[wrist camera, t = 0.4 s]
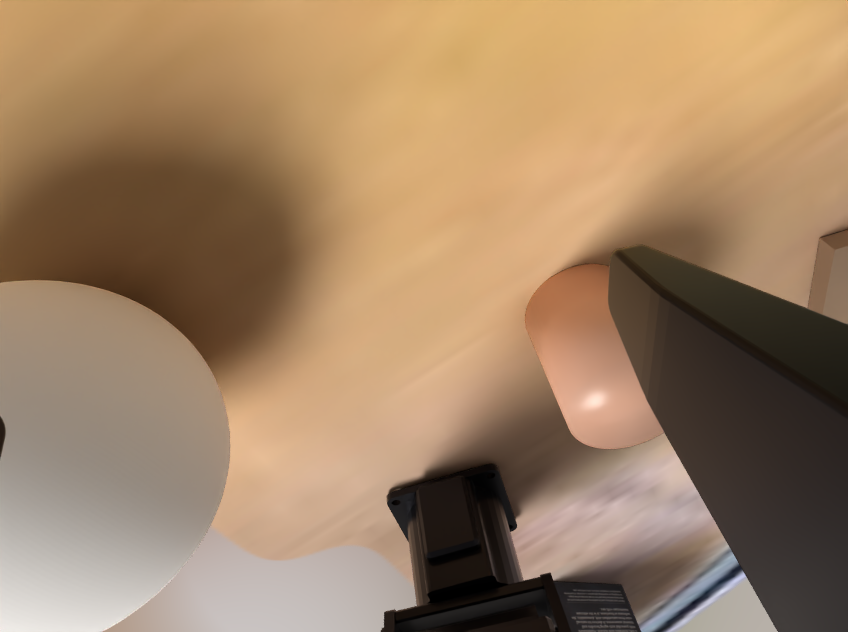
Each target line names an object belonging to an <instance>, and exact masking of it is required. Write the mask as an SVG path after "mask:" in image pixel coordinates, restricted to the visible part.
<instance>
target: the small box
mask: <svg viewBox="0 0 848 632" xmlns="http://www.w3.org/2000/svg"><path fill="white" fill-rule="evenodd" d="M554 584H555V587H556V590H557V593H558V595H559V598H560V601H561V604H562V607H563V610H564V612H565V615H566V618H567V621H568V624H569V627H570V629H571V632H641V630H640V628H639V626H638V623H637V621H636V618H635V616H634V613H633V611H632V609H631V606H630V604H629V601H628V599H627V597H626V594H625V592H624V589H623V587H622V585H618V584H597V583H595V584H594V583H572V582H571V583H570V582H554Z"/></svg>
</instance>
